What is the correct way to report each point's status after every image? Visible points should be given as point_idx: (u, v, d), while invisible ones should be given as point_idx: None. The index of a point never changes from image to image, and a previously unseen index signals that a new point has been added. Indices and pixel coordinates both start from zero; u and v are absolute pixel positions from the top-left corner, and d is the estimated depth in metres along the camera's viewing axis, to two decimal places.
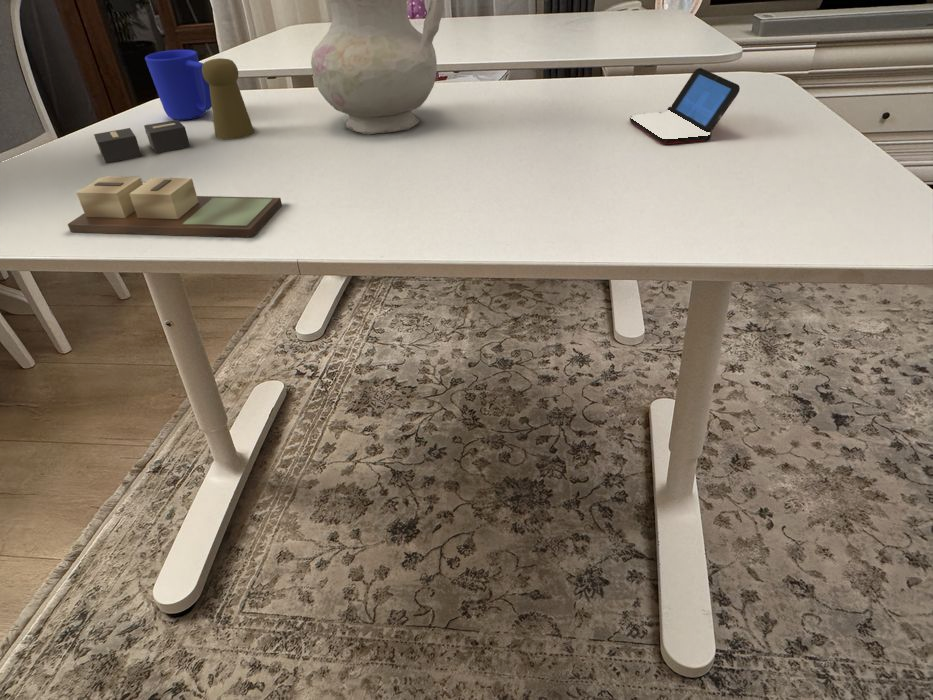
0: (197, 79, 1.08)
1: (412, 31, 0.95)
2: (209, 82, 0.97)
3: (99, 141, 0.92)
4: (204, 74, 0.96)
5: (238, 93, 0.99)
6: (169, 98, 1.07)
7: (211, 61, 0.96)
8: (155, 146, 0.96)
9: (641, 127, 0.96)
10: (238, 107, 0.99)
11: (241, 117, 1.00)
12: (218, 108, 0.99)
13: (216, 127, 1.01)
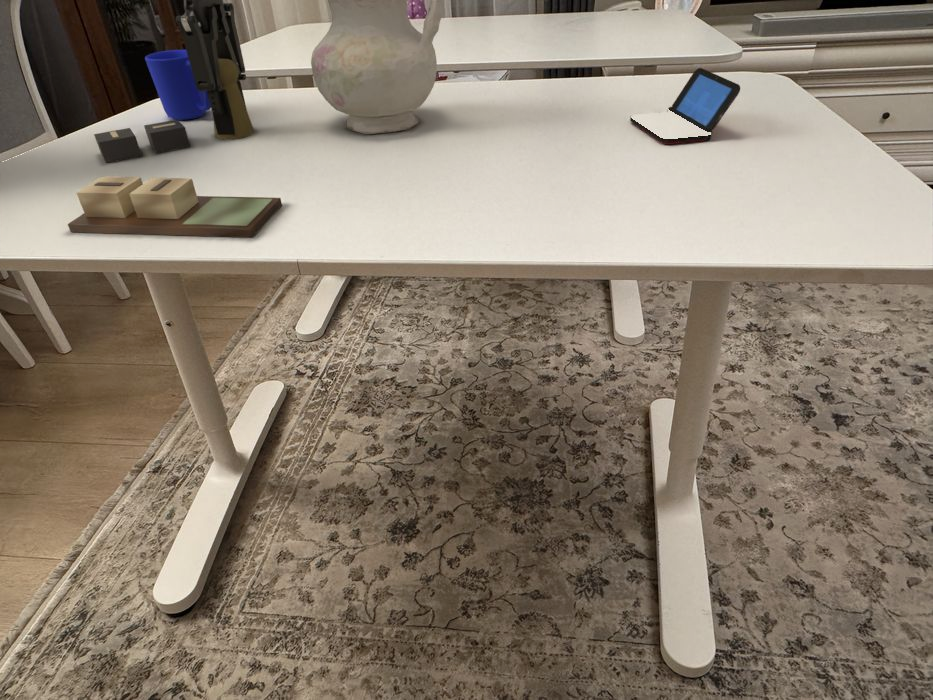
0: None
1: (412, 31, 0.95)
2: None
3: (99, 141, 0.92)
4: None
5: (238, 93, 0.99)
6: (169, 98, 1.07)
7: None
8: (155, 146, 0.96)
9: (642, 127, 0.96)
10: (238, 107, 0.99)
11: (241, 117, 1.00)
12: None
13: None
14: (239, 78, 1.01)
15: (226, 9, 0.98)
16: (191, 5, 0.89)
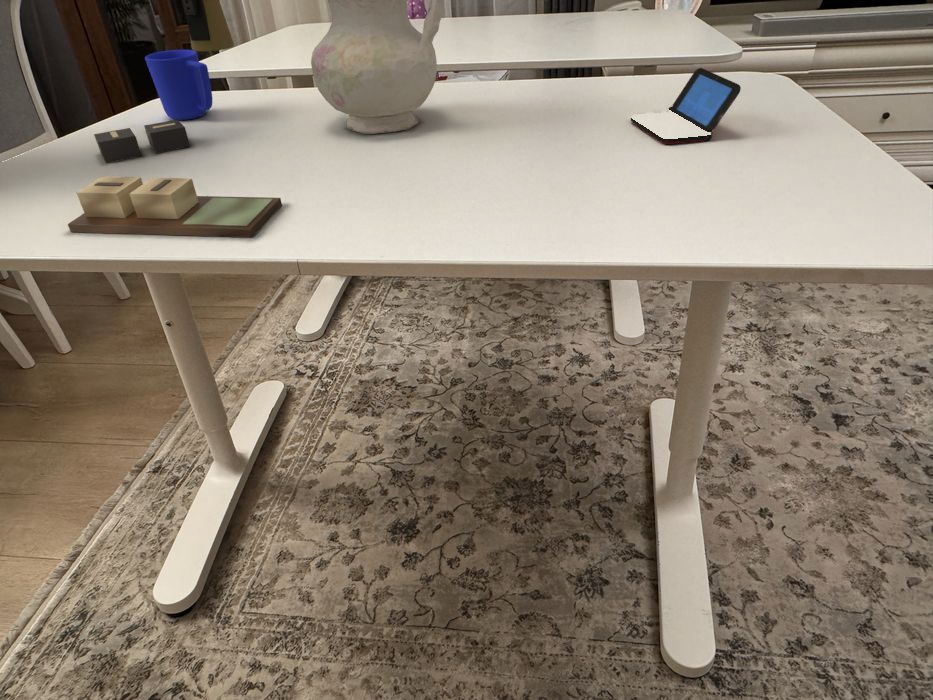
0: (197, 79, 1.08)
1: (412, 31, 0.95)
2: None
3: (99, 141, 0.92)
4: None
5: (216, 0, 0.91)
6: (169, 98, 1.07)
7: None
8: (155, 146, 0.96)
9: (642, 127, 0.96)
10: (216, 15, 0.91)
11: (219, 27, 0.92)
12: None
13: None
14: None
15: None
16: None
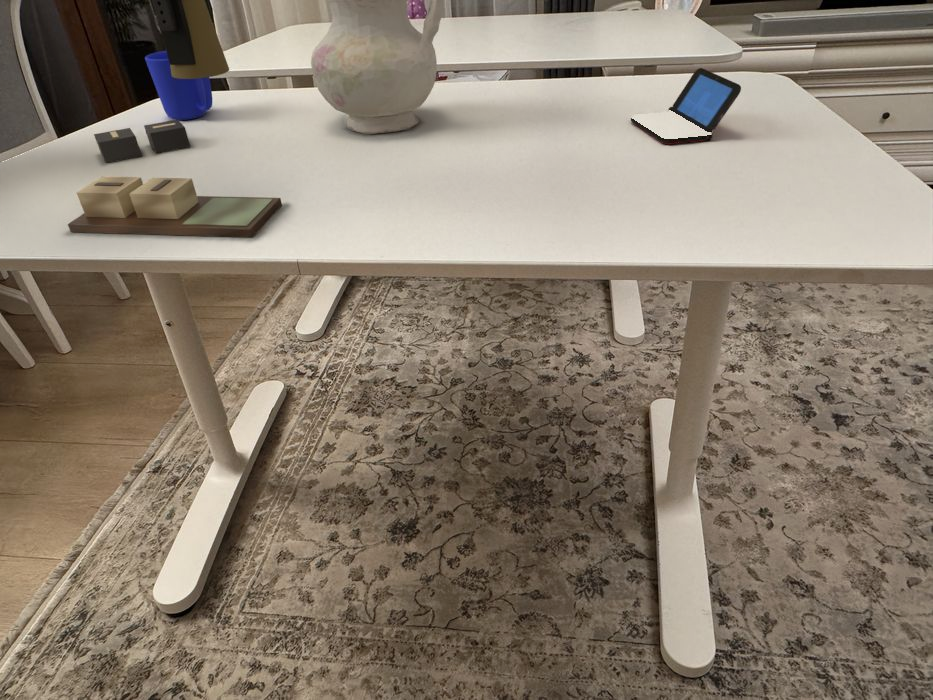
0: (197, 79, 1.08)
1: (412, 31, 0.95)
2: None
3: (99, 141, 0.92)
4: None
5: (204, 8, 0.66)
6: (169, 98, 1.07)
7: None
8: (155, 146, 0.96)
9: (642, 127, 0.96)
10: (203, 29, 0.66)
11: (208, 46, 0.67)
12: None
13: None
14: None
15: None
16: None
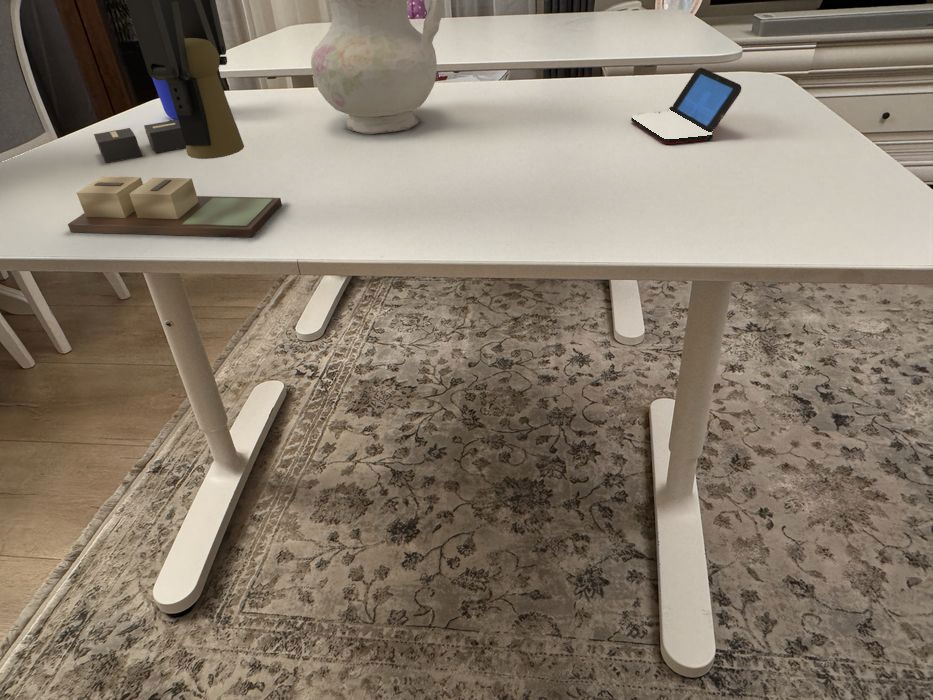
0: None
1: (412, 31, 0.95)
2: None
3: (99, 141, 0.92)
4: None
5: (219, 90, 0.66)
6: (169, 98, 1.07)
7: None
8: (155, 146, 0.96)
9: (643, 127, 0.96)
10: (219, 111, 0.67)
11: (224, 126, 0.67)
12: None
13: None
14: None
15: None
16: None
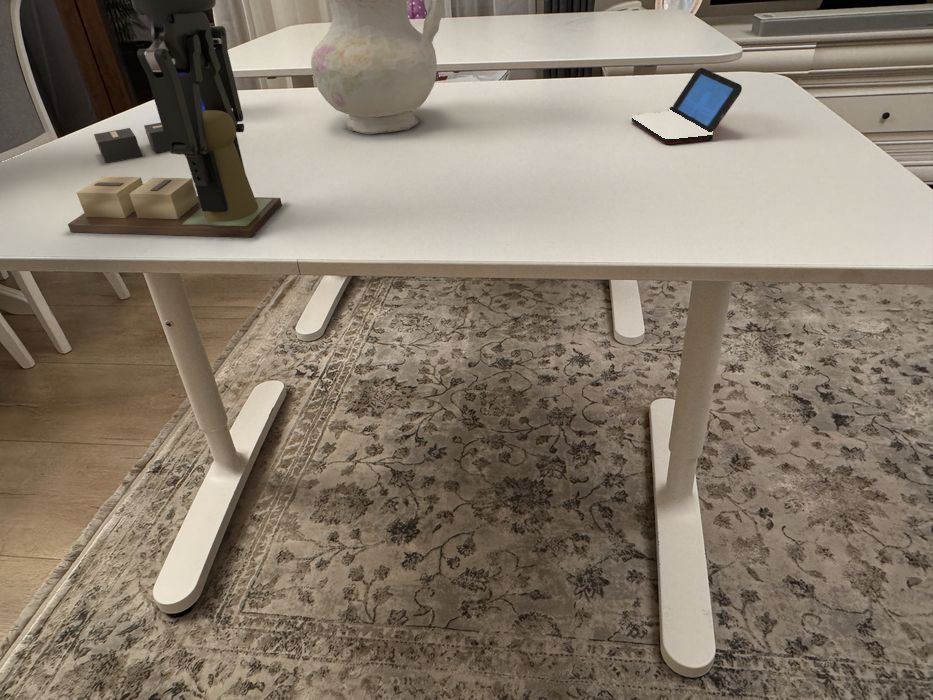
0: None
1: (412, 31, 0.95)
2: None
3: (99, 141, 0.92)
4: None
5: (236, 158, 0.70)
6: None
7: None
8: (155, 146, 0.96)
9: (643, 127, 0.96)
10: (235, 177, 0.71)
11: (240, 191, 0.71)
12: None
13: None
14: None
15: (215, 35, 0.68)
16: (162, 33, 0.60)
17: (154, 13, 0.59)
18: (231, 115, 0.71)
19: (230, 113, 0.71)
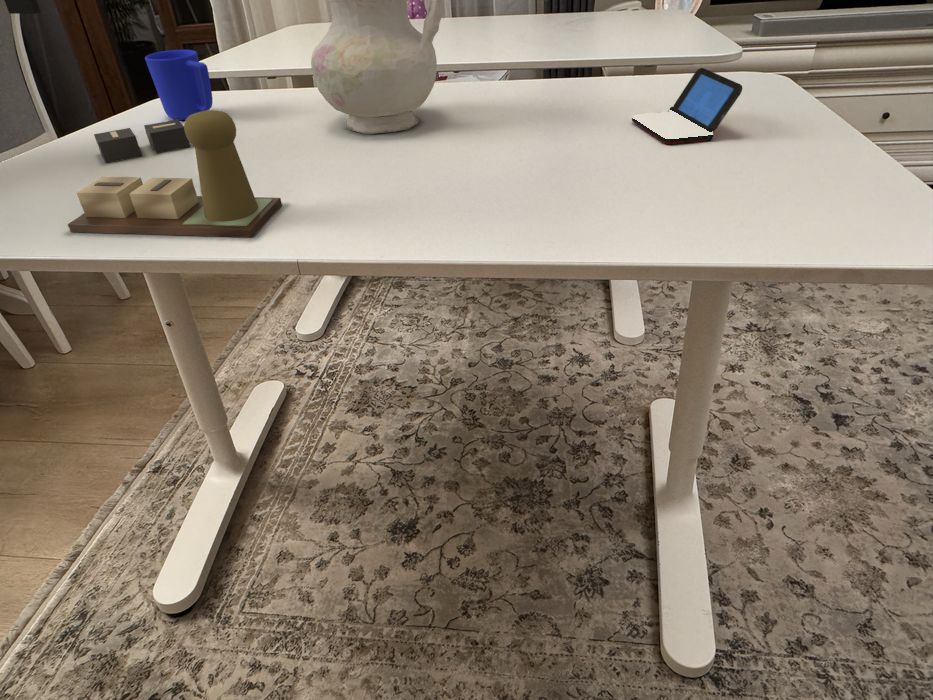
0: (197, 79, 1.08)
1: (412, 31, 0.95)
2: (195, 145, 0.68)
3: (99, 141, 0.92)
4: (187, 134, 0.67)
5: (236, 158, 0.70)
6: (169, 98, 1.07)
7: (197, 115, 0.67)
8: (155, 146, 0.96)
9: (643, 127, 0.96)
10: (235, 177, 0.71)
11: (240, 191, 0.71)
12: (207, 180, 0.70)
13: (205, 204, 0.72)
14: None
15: None
16: None
17: None
18: None
19: None
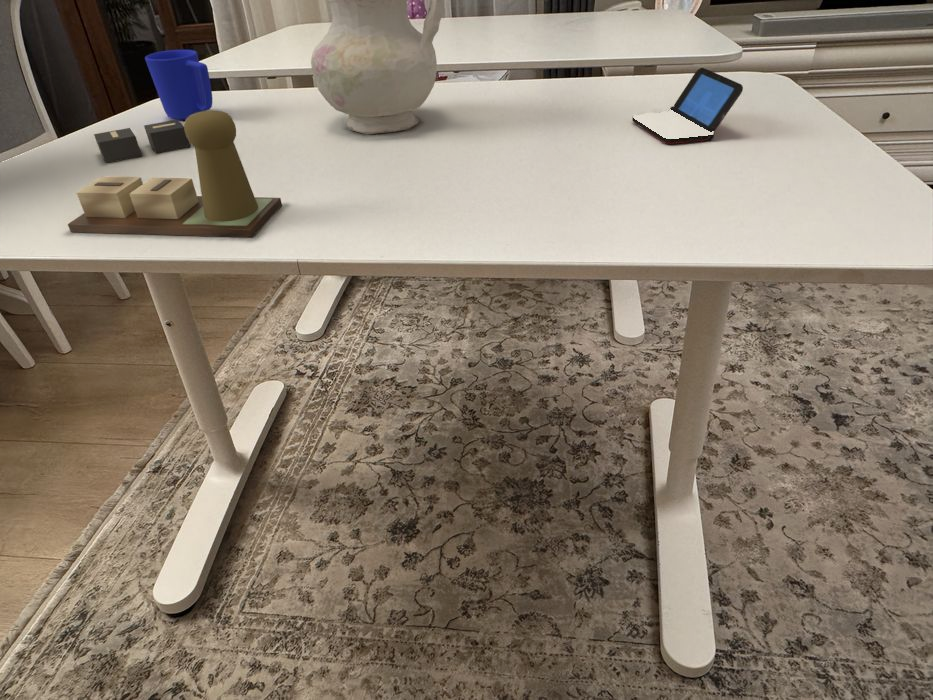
0: (197, 79, 1.08)
1: (412, 31, 0.95)
2: (195, 145, 0.68)
3: (99, 141, 0.92)
4: (187, 134, 0.67)
5: (236, 158, 0.70)
6: (169, 98, 1.07)
7: (197, 115, 0.67)
8: (155, 146, 0.96)
9: (644, 127, 0.96)
10: (235, 177, 0.71)
11: (240, 191, 0.71)
12: (207, 180, 0.70)
13: (205, 204, 0.72)
14: None
15: None
16: None
17: None
18: None
19: None
